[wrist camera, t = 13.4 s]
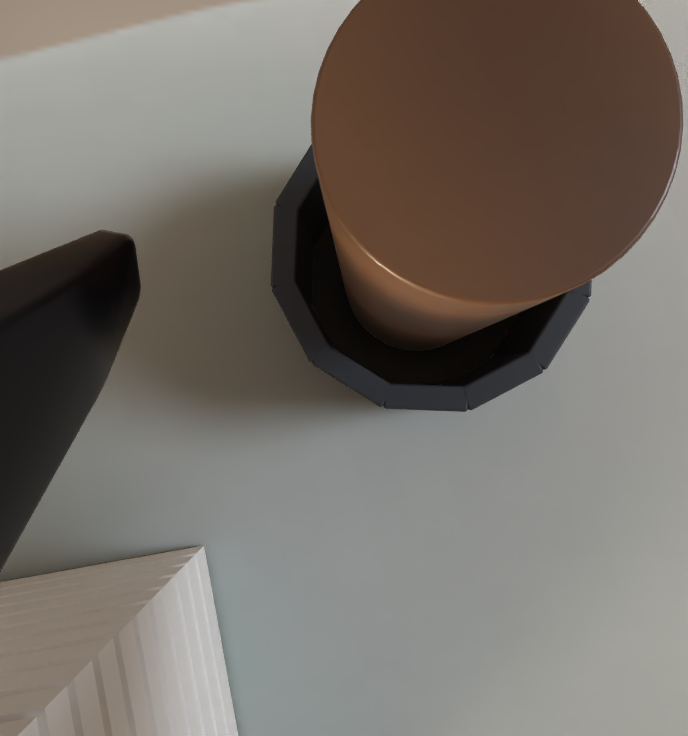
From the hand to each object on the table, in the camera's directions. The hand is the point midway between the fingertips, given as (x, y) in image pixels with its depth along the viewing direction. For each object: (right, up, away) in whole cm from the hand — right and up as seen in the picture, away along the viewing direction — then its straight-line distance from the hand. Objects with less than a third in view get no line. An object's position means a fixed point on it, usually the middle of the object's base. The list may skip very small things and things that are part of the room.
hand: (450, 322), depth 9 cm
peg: (+1, +2, +11) cm, 11 cm away
